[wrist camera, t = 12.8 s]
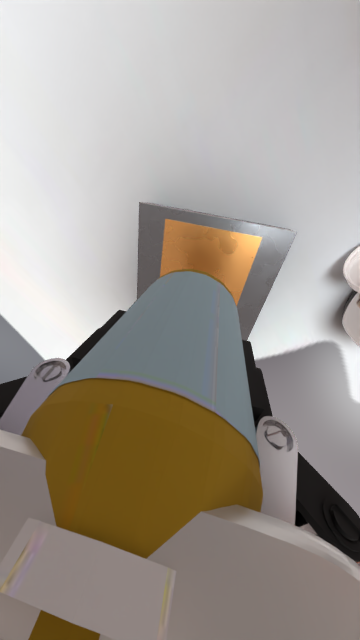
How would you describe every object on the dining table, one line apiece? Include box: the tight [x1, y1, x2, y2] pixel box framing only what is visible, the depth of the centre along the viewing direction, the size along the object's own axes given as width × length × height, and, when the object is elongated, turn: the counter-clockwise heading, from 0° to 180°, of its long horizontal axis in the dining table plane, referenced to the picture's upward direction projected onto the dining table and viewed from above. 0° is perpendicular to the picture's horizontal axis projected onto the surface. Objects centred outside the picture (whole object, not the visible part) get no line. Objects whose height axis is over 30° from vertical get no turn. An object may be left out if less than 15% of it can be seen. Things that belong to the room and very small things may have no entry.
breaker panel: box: [137, 202, 297, 341], centre depth 25 cm, size 16×22×4 cm
